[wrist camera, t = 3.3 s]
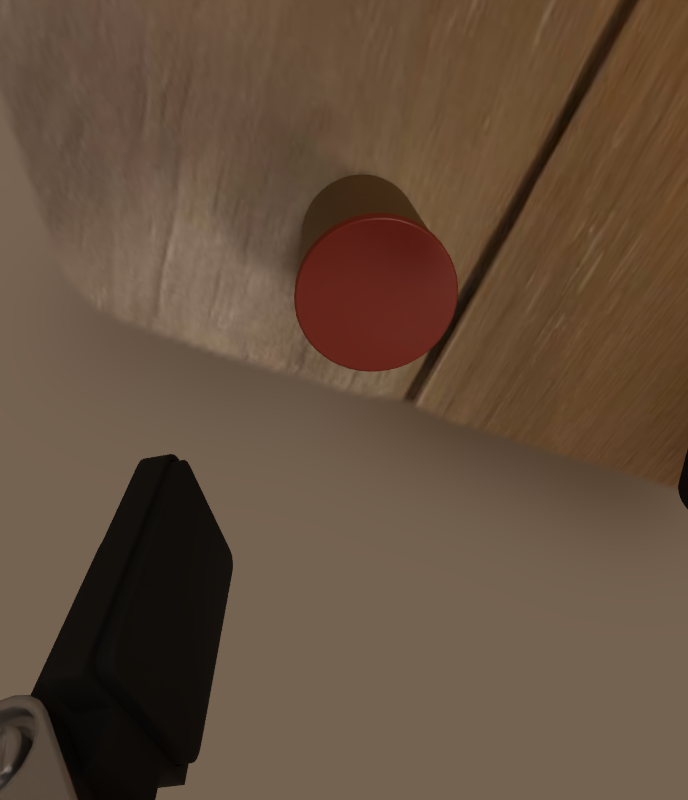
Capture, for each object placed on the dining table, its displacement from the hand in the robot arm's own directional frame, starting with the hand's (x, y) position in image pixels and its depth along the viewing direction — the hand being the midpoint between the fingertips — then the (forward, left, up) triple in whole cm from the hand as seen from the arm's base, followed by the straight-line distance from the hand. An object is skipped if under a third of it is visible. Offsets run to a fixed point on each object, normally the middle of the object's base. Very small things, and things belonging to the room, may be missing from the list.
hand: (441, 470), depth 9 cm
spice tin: (0, 0, -15) cm, 15 cm away
